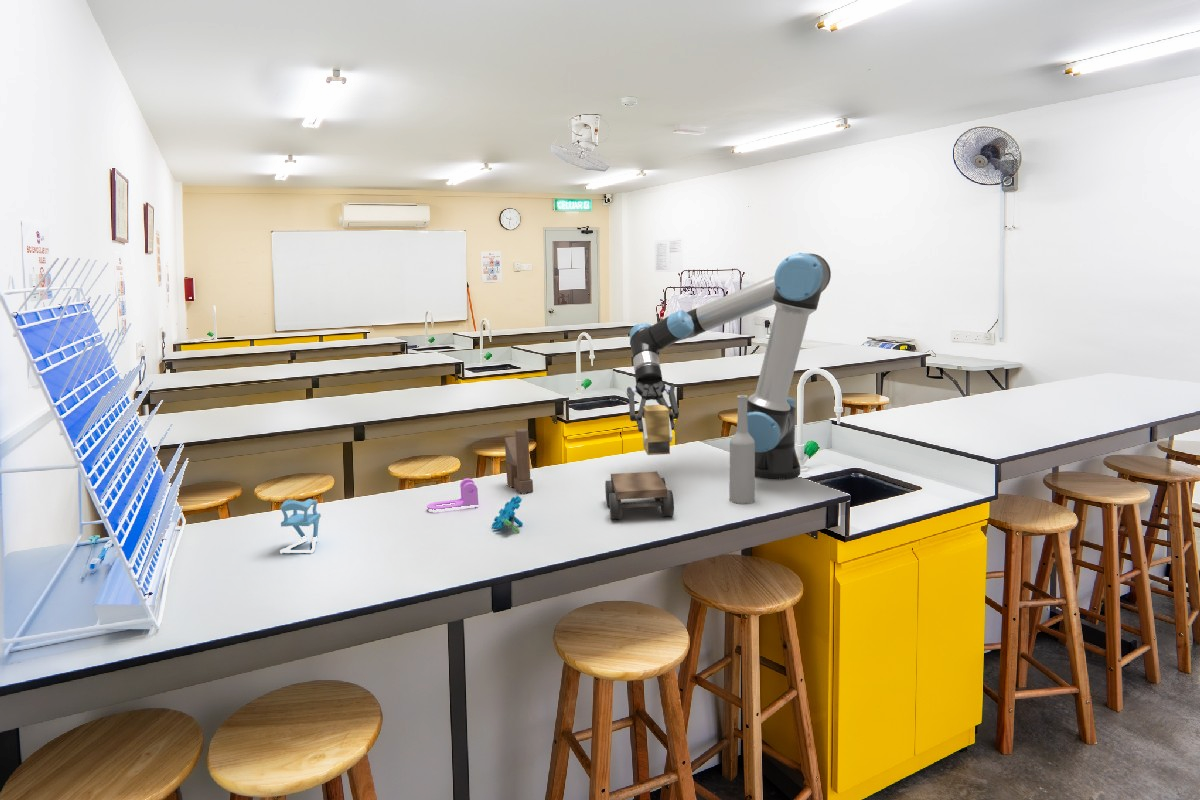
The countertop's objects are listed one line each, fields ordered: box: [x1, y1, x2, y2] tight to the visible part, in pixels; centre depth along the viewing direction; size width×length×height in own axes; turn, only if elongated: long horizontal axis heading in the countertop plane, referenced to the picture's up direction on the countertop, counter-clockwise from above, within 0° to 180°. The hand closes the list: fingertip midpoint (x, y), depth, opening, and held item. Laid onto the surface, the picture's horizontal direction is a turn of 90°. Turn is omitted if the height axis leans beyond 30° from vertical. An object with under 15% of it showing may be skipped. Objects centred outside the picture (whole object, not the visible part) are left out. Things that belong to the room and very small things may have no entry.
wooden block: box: [504, 427, 534, 494], centre depth 209 cm, size 4×11×18 cm, turn 30°
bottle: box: [728, 394, 756, 505], centre depth 192 cm, size 7×7×28 cm
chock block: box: [642, 404, 671, 456], centre depth 200 cm, size 6×8×12 cm
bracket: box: [426, 477, 479, 510], centre depth 195 cm, size 13×6×7 cm, turn 109°
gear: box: [491, 494, 524, 533], centre depth 179 cm, size 11×6×10 cm
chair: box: [280, 498, 322, 538], centre depth 170 cm, size 8×8×12 cm
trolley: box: [604, 471, 675, 520], centre depth 189 cm, size 15×17×8 cm
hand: (658, 440), depth 197 cm, fingers closed on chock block, 6 cm apart
